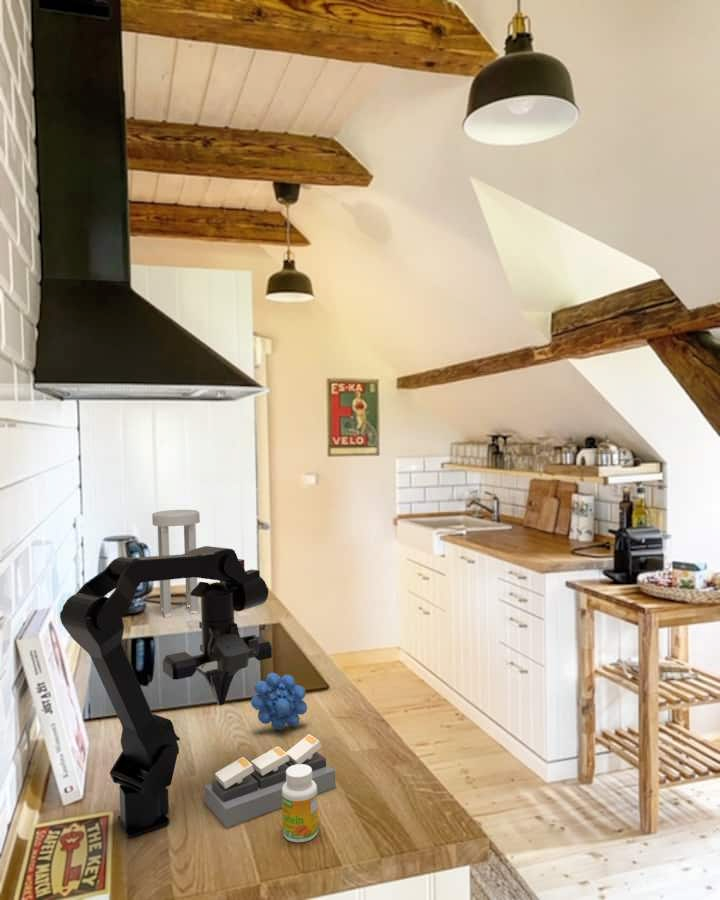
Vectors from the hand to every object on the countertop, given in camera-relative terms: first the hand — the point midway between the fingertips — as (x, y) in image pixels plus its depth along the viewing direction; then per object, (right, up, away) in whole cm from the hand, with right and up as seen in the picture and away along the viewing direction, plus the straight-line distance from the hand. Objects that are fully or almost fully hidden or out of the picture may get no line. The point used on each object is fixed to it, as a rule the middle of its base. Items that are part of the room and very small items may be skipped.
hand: (220, 704), depth 122 cm
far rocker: (+15, -8, -3) cm, 18 cm away
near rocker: (+5, -8, -10) cm, 14 cm away
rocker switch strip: (+10, -13, -6) cm, 17 cm away
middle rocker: (+10, -8, -6) cm, 14 cm away
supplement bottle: (+16, -13, -18) cm, 27 cm away
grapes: (+9, -13, +18) cm, 24 cm away
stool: (-38, -11, +117) cm, 124 cm away
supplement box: (-21, -11, +125) cm, 127 cm away
